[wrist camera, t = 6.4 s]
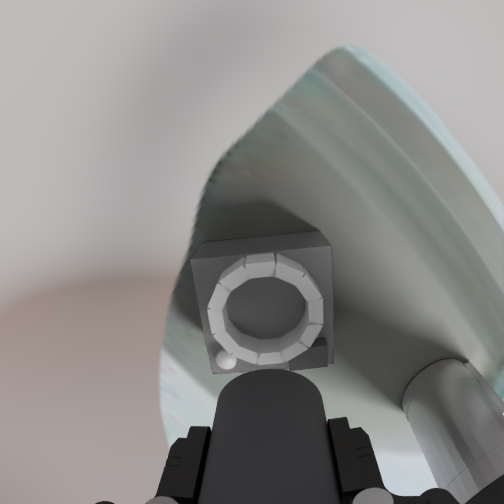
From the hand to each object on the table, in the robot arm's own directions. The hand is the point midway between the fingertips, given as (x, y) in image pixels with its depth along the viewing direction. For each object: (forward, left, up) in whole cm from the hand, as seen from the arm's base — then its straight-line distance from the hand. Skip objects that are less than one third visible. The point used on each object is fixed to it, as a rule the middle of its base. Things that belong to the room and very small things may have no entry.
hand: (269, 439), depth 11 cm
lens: (0, 0, -2) cm, 2 cm away
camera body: (0, +1, -18) cm, 18 cm away
